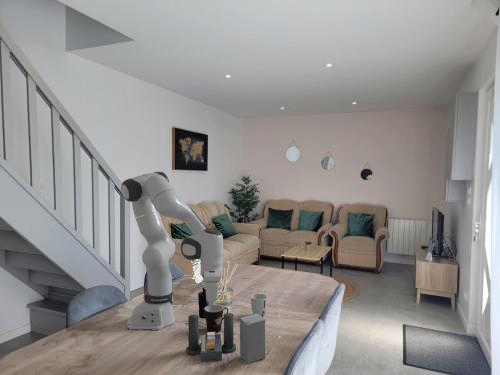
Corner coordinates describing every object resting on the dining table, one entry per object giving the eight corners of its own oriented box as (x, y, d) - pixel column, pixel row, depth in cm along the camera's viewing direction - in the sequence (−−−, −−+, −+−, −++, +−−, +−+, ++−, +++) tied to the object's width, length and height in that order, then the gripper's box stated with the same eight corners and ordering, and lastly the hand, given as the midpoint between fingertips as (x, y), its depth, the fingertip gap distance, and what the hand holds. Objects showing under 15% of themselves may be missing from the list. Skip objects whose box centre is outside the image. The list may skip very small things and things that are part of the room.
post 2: (221, 353, 133) (221, 318, 133) (220, 345, 139) (220, 312, 139) (236, 352, 134) (236, 317, 134) (235, 344, 140) (235, 311, 139)
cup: (265, 320, 164) (265, 300, 163) (249, 319, 165) (249, 298, 165) (268, 313, 172) (268, 294, 171) (252, 312, 173) (252, 293, 173)
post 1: (185, 355, 131) (185, 320, 131) (186, 347, 137) (186, 314, 137) (201, 354, 132) (200, 319, 132) (201, 346, 138) (201, 313, 138)
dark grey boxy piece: (200, 361, 127) (200, 351, 127) (201, 343, 141) (201, 334, 141) (222, 360, 128) (222, 350, 128) (220, 342, 142) (220, 333, 142)
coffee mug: (206, 335, 148) (205, 313, 148) (203, 327, 157) (203, 305, 156) (231, 332, 151) (231, 310, 151) (227, 324, 160) (227, 303, 159)
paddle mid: (207, 343, 133) (207, 339, 133) (207, 340, 136) (207, 336, 136) (215, 343, 134) (215, 339, 134) (214, 340, 136) (214, 336, 136)
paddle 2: (207, 349, 129) (206, 345, 129) (207, 346, 132) (206, 342, 132) (215, 347, 130) (214, 343, 129) (214, 344, 132) (213, 340, 132)
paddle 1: (207, 338, 137) (207, 335, 137) (207, 336, 140) (207, 332, 139) (214, 338, 138) (214, 334, 137) (214, 335, 140) (214, 331, 140)
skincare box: (257, 350, 135) (257, 312, 135) (266, 359, 129) (266, 318, 128) (238, 356, 131) (238, 316, 131) (247, 365, 125) (247, 323, 124)
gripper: (203, 263, 144) (203, 295, 144) (203, 278, 123) (202, 315, 124) (218, 263, 145) (217, 295, 145) (220, 277, 124) (219, 314, 125)
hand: (210, 304), depth 134 cm, fingers closed
